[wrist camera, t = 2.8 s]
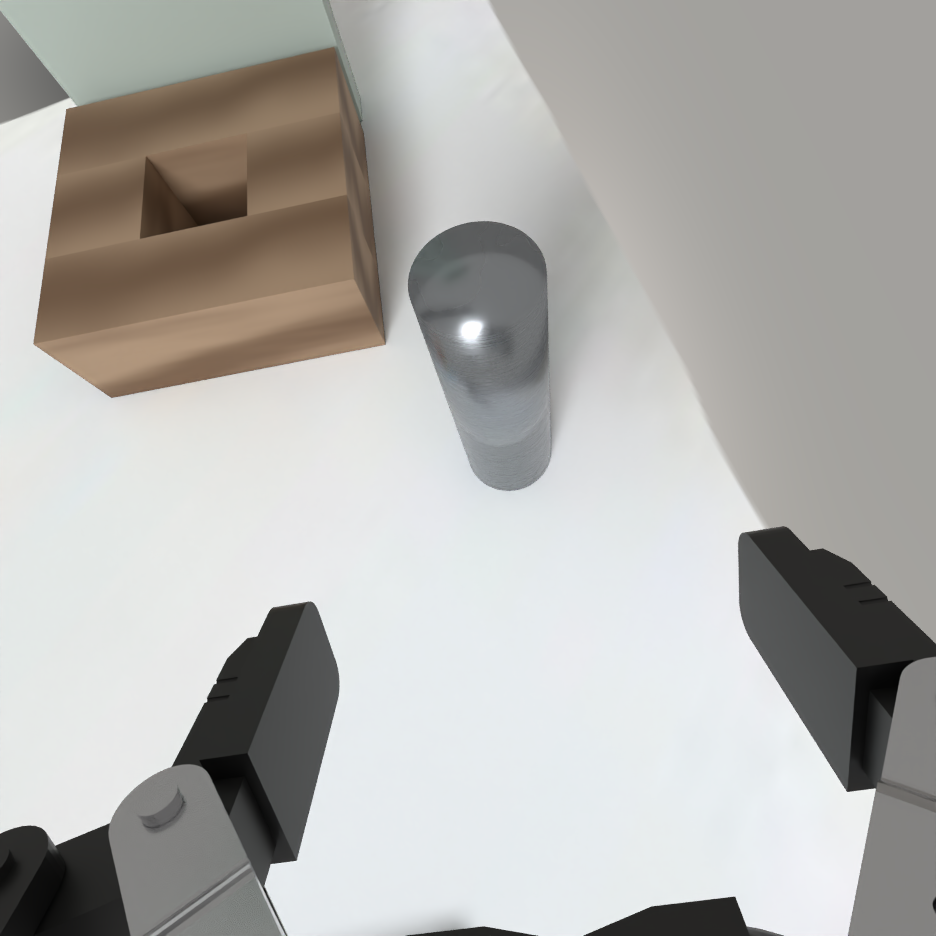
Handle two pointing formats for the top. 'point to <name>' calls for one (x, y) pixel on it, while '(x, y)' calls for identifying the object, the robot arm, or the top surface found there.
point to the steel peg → (489, 345)
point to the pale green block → (168, 40)
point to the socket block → (211, 229)
